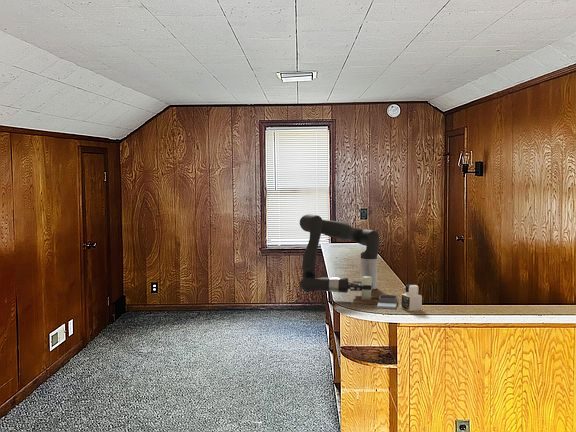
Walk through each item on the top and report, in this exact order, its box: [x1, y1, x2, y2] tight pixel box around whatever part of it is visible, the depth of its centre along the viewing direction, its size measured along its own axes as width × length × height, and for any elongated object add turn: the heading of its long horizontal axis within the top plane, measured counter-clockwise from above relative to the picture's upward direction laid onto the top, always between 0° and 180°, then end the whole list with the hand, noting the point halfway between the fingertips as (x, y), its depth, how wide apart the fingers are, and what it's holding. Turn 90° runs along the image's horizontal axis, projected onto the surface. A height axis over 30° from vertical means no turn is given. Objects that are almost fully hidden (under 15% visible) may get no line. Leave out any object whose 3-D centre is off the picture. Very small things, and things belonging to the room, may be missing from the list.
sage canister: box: [361, 276, 372, 300], centre depth 304 cm, size 5×5×12 cm
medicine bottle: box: [401, 283, 423, 312], centre depth 289 cm, size 7×7×12 cm
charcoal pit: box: [378, 294, 398, 304], centre depth 302 cm, size 8×8×3 cm
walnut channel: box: [352, 295, 380, 305], centre depth 305 cm, size 9×12×2 cm
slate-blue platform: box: [376, 301, 398, 310], centre depth 294 cm, size 8×9×1 cm
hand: (371, 286), depth 304 cm, fingers closed on sage canister, 5 cm apart
